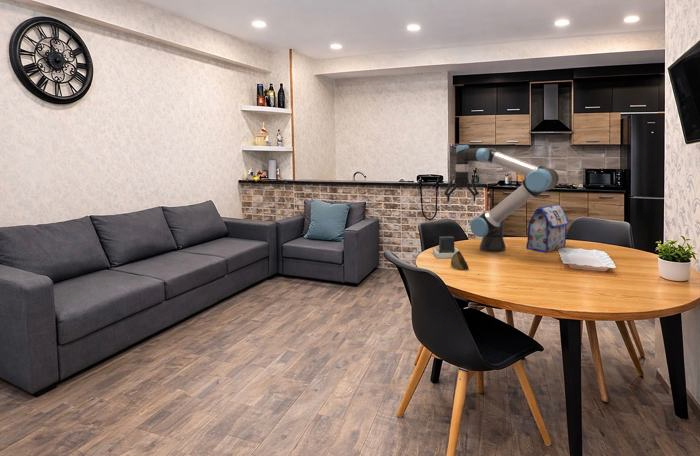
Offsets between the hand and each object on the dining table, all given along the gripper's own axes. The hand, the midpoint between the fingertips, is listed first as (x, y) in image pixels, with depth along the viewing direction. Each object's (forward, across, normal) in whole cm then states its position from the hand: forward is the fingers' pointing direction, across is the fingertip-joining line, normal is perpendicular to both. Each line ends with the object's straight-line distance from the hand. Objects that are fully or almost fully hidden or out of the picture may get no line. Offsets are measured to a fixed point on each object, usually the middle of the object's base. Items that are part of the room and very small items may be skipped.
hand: (460, 206), depth 275 cm
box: (+26, +11, +15) cm, 32 cm away
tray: (+27, +11, +15) cm, 33 cm away
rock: (+27, +10, +42) cm, 51 cm away
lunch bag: (+27, -53, 0) cm, 59 cm away
